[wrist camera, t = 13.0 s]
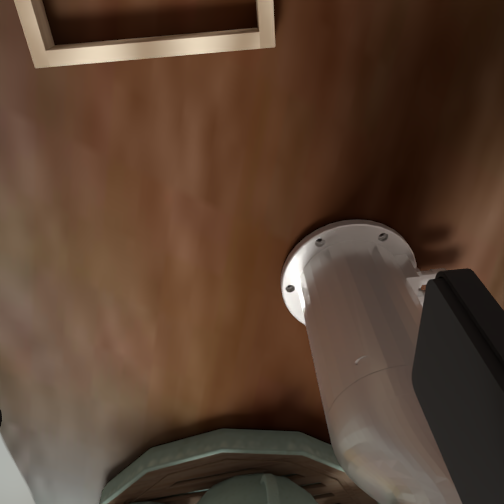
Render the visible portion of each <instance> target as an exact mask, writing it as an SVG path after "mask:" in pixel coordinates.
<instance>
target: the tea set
mask: <svg viewBox="0 0 504 504" xmlns="http://www.w3.org/2000/svg"><path fill="white" fill-rule="evenodd" d="M99 504H380V503H379V502H377V501H376V500H374V499H373V498H372V497H370V496H369V495H368V494H367V493H365V492H364V491H363V490H362V489H360V488H359V487H358V486H357V485H356V484H355V483H354V482H353V481H352V480H351V479H350V478H349V477H348V475H347V474H346V473H345V471H344V470H343V468H342V467H341V465H340V464H339V462H338V460H337V458H336V456H335V453H334V451H333V447H332V445H330V444H328V443H325V442H323V441H320V440H318V439H316V438H313V437H311V436H308V435H306V434H304V433H301V432H295V431H272V430H249V429H225V428H222V429H218V430H215V431H211V432H207V433H204V434H200V435H196V436H193V437H189V438H185V439H182V440H178V441H174V442H171V443H167V444H163V445H160V446H156V447H152V448H150V449H149V450H148V451H146V452H145V453H144V454H143V455H142V456H140V457H139V458H138V459H137V460H135V461H134V462H133V463H132V464H130V465H129V466H128V467H127V468H125V469H124V470H123V471H122V472H121V473H119V474H118V475H117V476H116V477H114V478H113V479H112V480H111V481H109V482H108V483H107V485H106V486H105V488H104V489H103V490H102V494H101V499H100V503H99Z"/></svg>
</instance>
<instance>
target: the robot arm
mask: <svg viewBox="0 0 504 504" xmlns="http://www.w3.org/2000/svg"><path fill="white" fill-rule="evenodd" d="M422 285H426V290H421V289H420V288H421V286H422ZM281 290H282V296H283V299H284V302H285V305H286V307H287V308H288V310H289V311H290V313H291V314H292V315H293V316H294V317H295V318H296V319H297V320H298V321H300V322H301V323H303V324H305V325H306V329H307V333H308V338H309V343H310V347H311V352H312V356H313V361H314V366H315V370H316V375H317V380H318V384H319V389H320V394H321V398H322V403H323V408H324V412H325V417H326V422H327V426H328V431H329V436H330V440H331V444H332V447H333V451H334V453H335V456H336V458H337V460H338V462H339V464H340V465H341V467H342V468H343V470H344V471H345V473H346V474H347V475H348V477H349V478H350V479H351V480H352V481H353V482H354V483H355V484H356V485H357V486H358V487H359V488H360V489H362V490H363V491H364V492H365V493H367V494H368V495H369V496H370V497H372V498H373V499H374V500H376V501H377V502H379V503H380V504H504V311H503V309H502V308H501V307H500V305H499V304H498V303H497V301H496V300H495V299H494V298H493V296H492V295H491V294H490V292H489V291H488V290H487V288H486V287H485V286H484V285H483V283H482V282H481V281H480V279H479V278H478V277H477V275H476V274H475V273H474V272H473V271H472V270H471V269H457V270H446V269H445V268H441V269H431V270H427V271H420V270H419V269H418V268H417V263H416V260H415V256H414V253H413V252H412V250H411V248H410V246H409V245H408V243H407V242H406V241H405V239H404V238H403V237H402V236H401V235H400V234H399V233H398V232H396V231H395V230H394V229H392V228H390V227H388V226H386V225H384V224H382V223H378V222H374V221H371V220H360V219H354V220H343V221H339V222H335V223H331V224H328V225H326V226H324V227H321V228H319V229H317V230H315V231H314V232H312V233H311V234H309V235H307V236H306V237H305V238H304V239H302V240H301V241H300V242H299V243H298V244H297V245H296V246H295V247H294V249H293V250H292V251H291V253H290V254H289V255H288V257H287V259H286V261H285V263H284V265H283V269H282V273H281ZM1 422H2V414H1V410H0V426H1Z"/></svg>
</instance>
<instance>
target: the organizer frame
mask: <svg viewBox="0 0 504 504" xmlns="http://www.w3.org/2000/svg"><path fill="white" fill-rule="evenodd" d="M14 2H15V5H16V8H17V11H18V15H19V18H20V21H21V24H22V27H23V31H24V34H25V37H26V40H27V43H28V47H29V50H30V53H31V56H32V59H33V63H34V66H35V68H43V67H54V66H66V65H77V64H89V63H100V62H111V61H123V60H134V59H146V58H157V57H169V56H180V55H191V54H203V53H214V52H226V51H237V50H248V49H260V48H271V47H275V28H274V5H273V0H256V11H257V27H258V28H248V29H236V30H225V31H213V32H202V33H191V34H179V35H168V36H156V37H145V38H133V39H122V40H111V41H99V42H88V43H76V44H65V45H55V44H54V41H53V37H52V34H51V30H50V26H49V23H48V19H47V16H46V12H45V9H44V5H43V2H42V0H14Z"/></svg>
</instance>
